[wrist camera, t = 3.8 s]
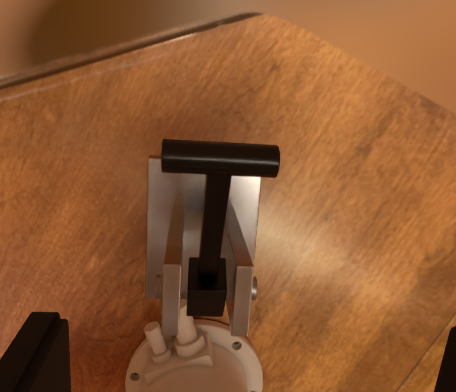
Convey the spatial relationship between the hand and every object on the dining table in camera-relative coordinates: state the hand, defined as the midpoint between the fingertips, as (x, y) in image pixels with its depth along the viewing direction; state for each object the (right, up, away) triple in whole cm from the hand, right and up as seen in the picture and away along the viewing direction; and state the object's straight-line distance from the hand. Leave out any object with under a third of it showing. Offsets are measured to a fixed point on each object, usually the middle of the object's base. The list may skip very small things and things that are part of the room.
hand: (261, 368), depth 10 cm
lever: (-2, +3, +13) cm, 13 cm away
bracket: (-3, +2, +26) cm, 26 cm away
